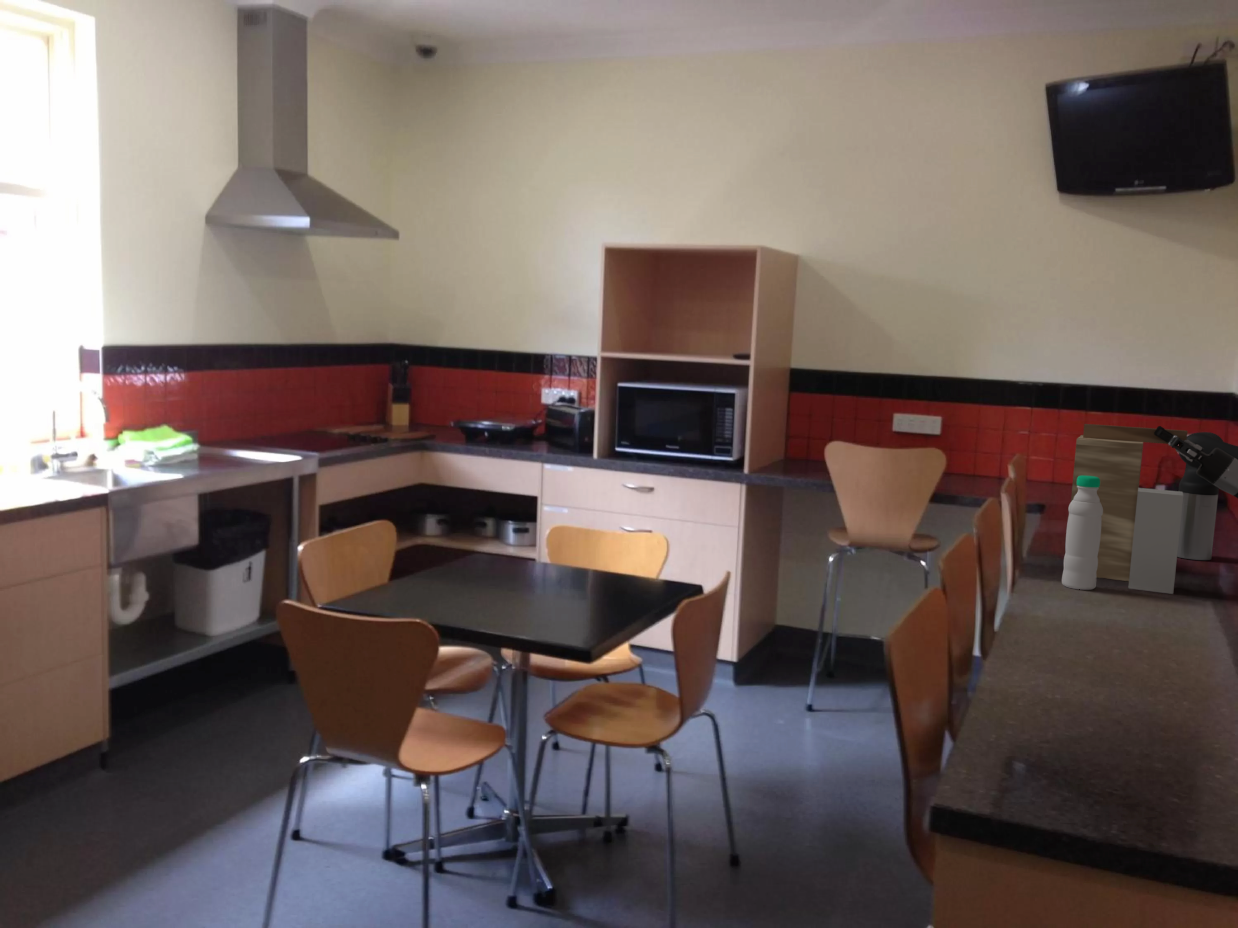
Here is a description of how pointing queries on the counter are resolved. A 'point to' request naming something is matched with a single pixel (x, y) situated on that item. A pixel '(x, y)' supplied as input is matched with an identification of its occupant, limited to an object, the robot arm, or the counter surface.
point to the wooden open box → (1112, 498)
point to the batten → (1127, 433)
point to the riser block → (1155, 540)
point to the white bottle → (1083, 536)
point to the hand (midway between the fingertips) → (1156, 429)
